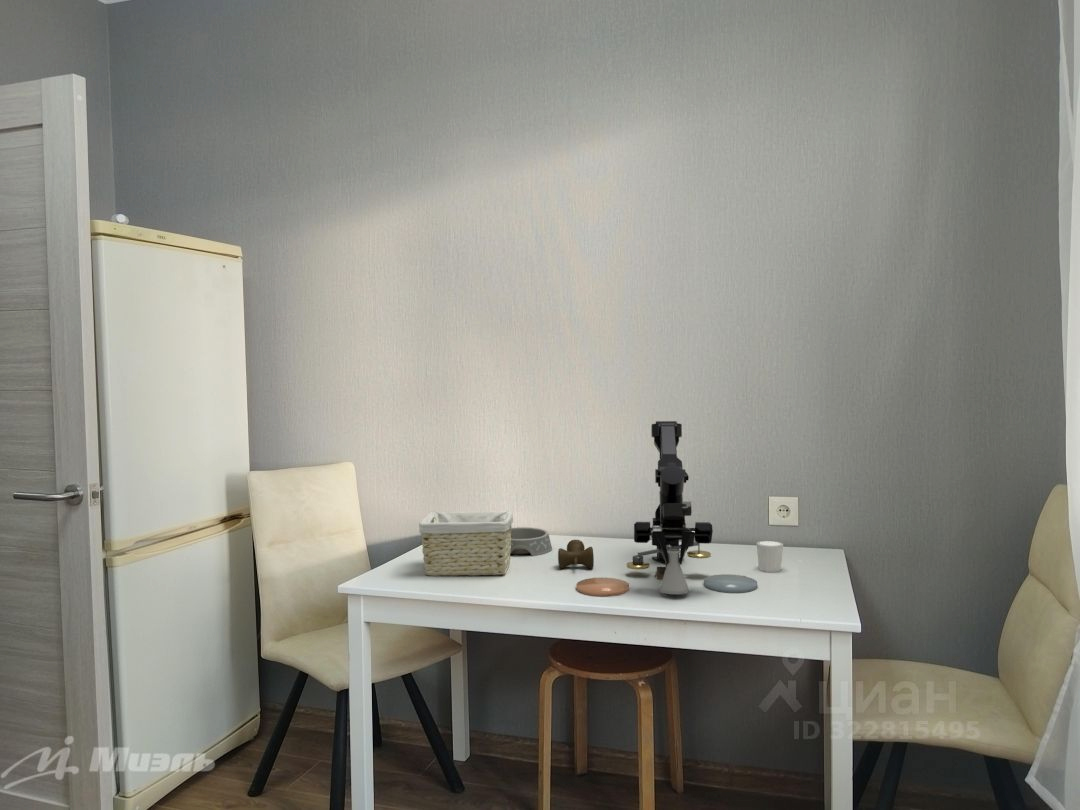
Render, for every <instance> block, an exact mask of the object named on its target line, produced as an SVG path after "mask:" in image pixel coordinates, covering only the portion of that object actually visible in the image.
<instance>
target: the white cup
mask: <svg viewBox="0 0 1080 810" xmlns="http://www.w3.org/2000/svg"><path fill="white" fill-rule="evenodd" d="M783 551H784V543H783V542H780V541H777V540H776V541H775V540H760V541H757V542H756V553H757V562H758V570H760V571H761V572H766V573H767V572H768V573H776V572H781V570H782V561H783Z"/></svg>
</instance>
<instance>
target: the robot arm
mask: <svg viewBox="0 0 1080 810" xmlns="http://www.w3.org/2000/svg"><path fill="white" fill-rule="evenodd" d="M682 429H683V425H682V423H678V421H677V420H664V421H663V420H659V421H658V420H657V421H656V420H655V423H651V429H650V431H651V434H650V435H651V438H653V445H654V446H655V448H656V450H657V451H658V453H659V459H658V461H657V469H655V470H654V473H655V474H654V481H655V484H657V486H658V487H659V504H658V506H657V508H656V510H655V511H654V517H652V526H651V521H635V523H634V524H633V540H634V541H633V542H634V543H636V544H637V543H638V544H639V543H640V544H647V543H648V542H650V541H651V546H655V547H656V549H659V551H660V553H656V556H651V557H652V560H655V561H657V562H659V563H662V564H665V565H666V564H668V553H667V547H666V545H671V546H676V545H681V549H680V553H679V560H680V565H682V564H683V561H684V560H685V559H684V558H685V555H686V554H687V552H688V549H690V547H689V546H692V547H694V546H693V545H694V542H697V543H700V544H711V543H712V539H713V533H714V531H713V530H714V529H713V524H712V523H711V522H710V521H709V522H708V521H707V522H706V521H702V522H701V521H699V522H698V521H695V523H694V527H686V526H687V524H686V517H689V516H690V517H691V516H692V501H684V499H683V492H684V484H687V481H689V479H690V478H689V474H688V473H687V472H686V469H683V468H684V467H683V461H682V460H681V459H680V458H678V455H677V454H678V453H677V452H678V450H677V447H678V446H679V442H680V438H682V437H683V435H682V433H683V432H682ZM680 541H681V542H680Z"/></svg>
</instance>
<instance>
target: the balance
mask: <svg viewBox="0 0 1080 810" xmlns="http://www.w3.org/2000/svg"><path fill="white" fill-rule="evenodd" d="M700 544H701V543H697V542H696V541H694V545H693V546H689V548H691V547H697V546H698V548H697V550H696V549H695V550H689V551H686V556H687V557H689V558H691V559H708V558H710V557H712V553H711V552H710V551H706V550H700ZM666 547H667V550H668V549H680V550H681V544H679V545H676V546H671V545H666ZM657 553H660V551H659V549H657V548H655V549H651V550H644V551H638V552H637V554H636V555H633V556H632V561H628V562H627V563H626V568H628V569H631V570H646V569H649V568H650V563H649V562H646V561H644V556H647V555H648V556H649V555H654V554H657ZM667 553H668V552H667ZM666 567H667V564H666V563H665V566H656V580H661V581H662V579H663V576H664V573H665V570H666Z"/></svg>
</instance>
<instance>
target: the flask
mask: <svg viewBox="0 0 1080 810" xmlns="http://www.w3.org/2000/svg"><path fill="white" fill-rule="evenodd" d="M680 550H681V549H668V550H667V552H668V564H667V567H666V566H665V567H666V570H665V573H664V576H663V579H662V580H661V581H660V582H661V583H660V585H659V588H658V589H659V593H661V594H662V593H663V594H668V595H685V594H686V593H688V592H690V589H689V587H688V583H687V581H686V578H685V576H684V573H683V569H682V567H681V566H682V565H681V564H680V560H679V558H680Z"/></svg>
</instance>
